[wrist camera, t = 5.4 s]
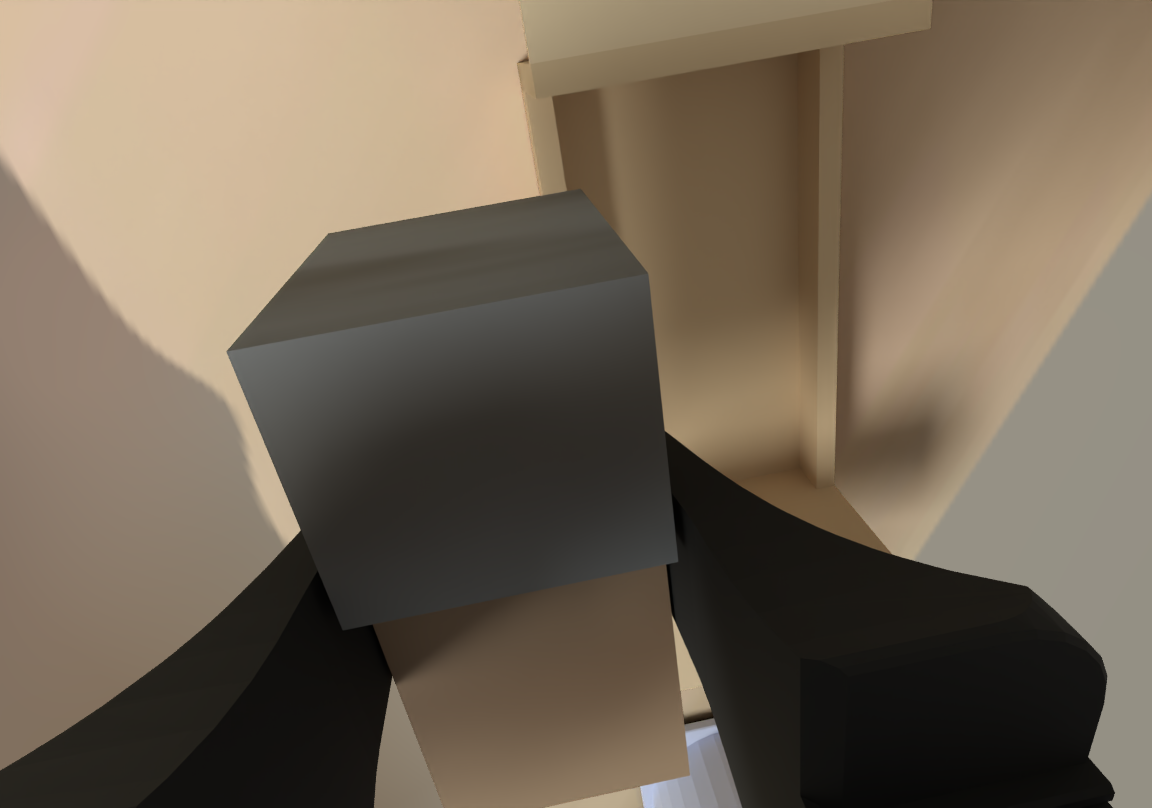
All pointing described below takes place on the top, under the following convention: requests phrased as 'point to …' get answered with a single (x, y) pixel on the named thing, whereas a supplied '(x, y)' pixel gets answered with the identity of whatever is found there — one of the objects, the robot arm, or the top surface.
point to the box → (487, 487)
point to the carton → (719, 211)
